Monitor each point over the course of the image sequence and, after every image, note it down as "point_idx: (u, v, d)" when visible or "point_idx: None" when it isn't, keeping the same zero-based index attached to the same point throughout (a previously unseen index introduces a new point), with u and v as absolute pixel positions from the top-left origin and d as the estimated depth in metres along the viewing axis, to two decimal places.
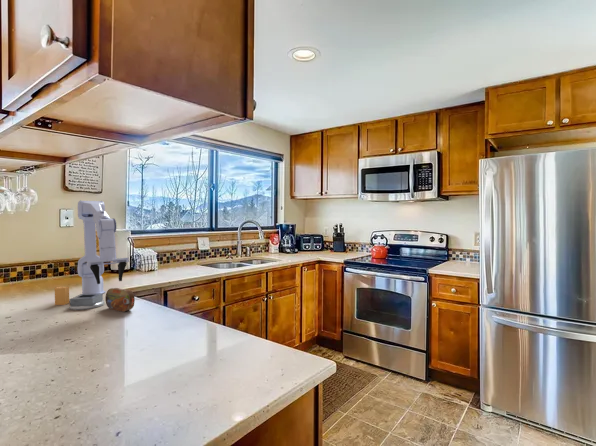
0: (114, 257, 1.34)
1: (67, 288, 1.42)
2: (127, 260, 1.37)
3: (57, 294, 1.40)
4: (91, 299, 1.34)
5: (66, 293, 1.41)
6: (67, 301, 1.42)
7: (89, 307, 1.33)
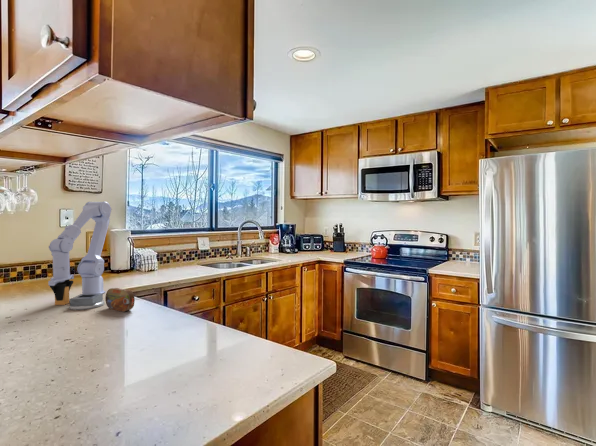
0: (53, 277, 1.39)
1: (67, 288, 1.42)
2: None
3: None
4: (91, 299, 1.34)
5: (66, 293, 1.41)
6: (67, 301, 1.42)
7: (89, 307, 1.33)
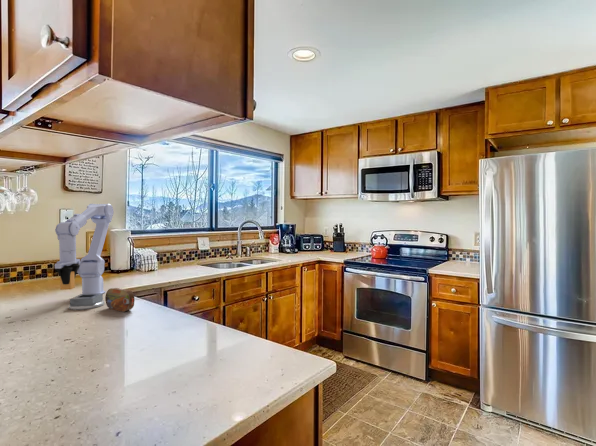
0: None
1: (72, 273, 1.40)
2: None
3: None
4: (91, 299, 1.34)
5: (71, 278, 1.40)
6: (72, 286, 1.40)
7: (89, 307, 1.33)
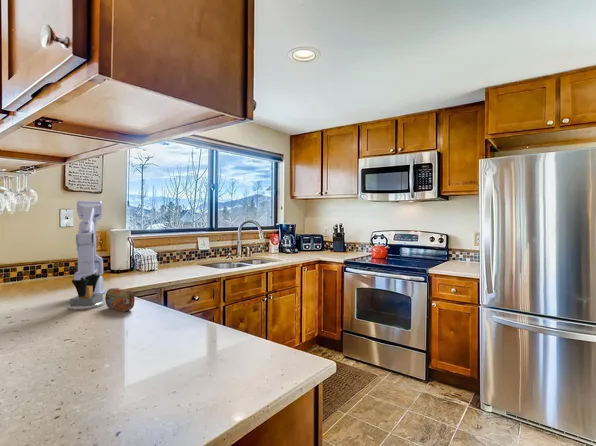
0: (78, 271, 1.36)
1: (91, 287, 1.38)
2: None
3: None
4: (91, 299, 1.34)
5: (90, 292, 1.38)
6: None
7: (89, 307, 1.33)
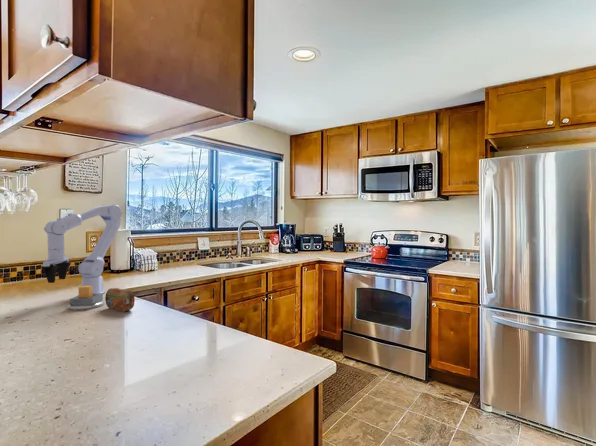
0: (48, 258, 1.40)
1: (91, 287, 1.38)
2: None
3: (81, 293, 1.36)
4: (91, 299, 1.34)
5: (90, 292, 1.38)
6: None
7: (89, 307, 1.33)
